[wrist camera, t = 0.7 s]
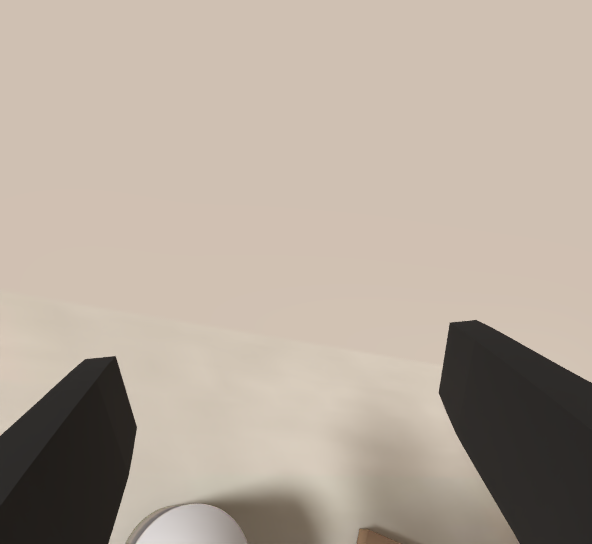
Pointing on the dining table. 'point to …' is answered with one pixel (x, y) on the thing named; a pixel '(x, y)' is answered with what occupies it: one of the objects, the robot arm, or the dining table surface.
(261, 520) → the dining table surface
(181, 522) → the white-capped gray cylinder
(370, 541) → the socket board
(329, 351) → the dining table surface
